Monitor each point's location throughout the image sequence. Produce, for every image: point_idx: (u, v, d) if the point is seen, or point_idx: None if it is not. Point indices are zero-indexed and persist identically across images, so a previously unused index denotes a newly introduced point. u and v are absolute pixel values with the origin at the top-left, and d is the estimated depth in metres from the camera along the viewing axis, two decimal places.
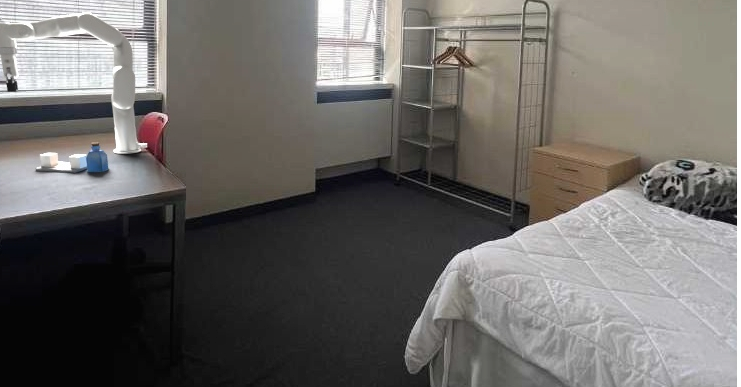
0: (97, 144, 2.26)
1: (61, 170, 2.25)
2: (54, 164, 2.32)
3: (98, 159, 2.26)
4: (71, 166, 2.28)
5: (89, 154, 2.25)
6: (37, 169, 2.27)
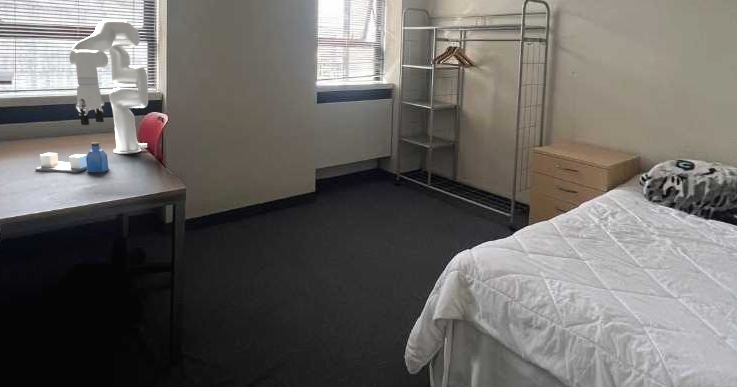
0: (97, 144, 2.26)
1: (61, 170, 2.25)
2: (54, 164, 2.32)
3: (98, 159, 2.26)
4: (71, 166, 2.28)
5: (89, 154, 2.25)
6: (37, 169, 2.27)
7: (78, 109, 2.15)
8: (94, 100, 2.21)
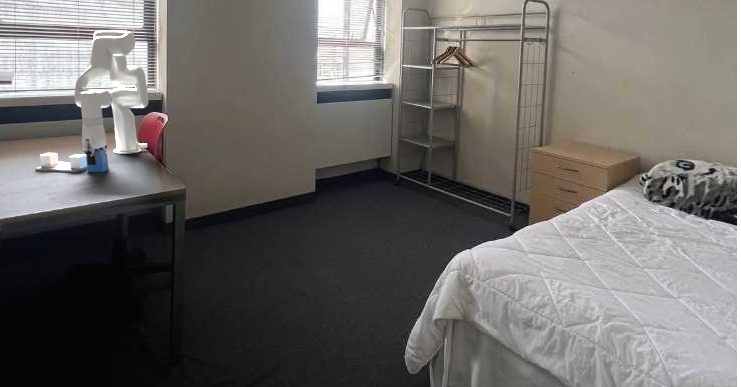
0: None
1: (61, 170, 2.25)
2: (54, 164, 2.32)
3: (98, 159, 2.26)
4: (71, 166, 2.28)
5: None
6: (37, 169, 2.27)
7: (85, 151, 2.21)
8: (99, 139, 2.25)
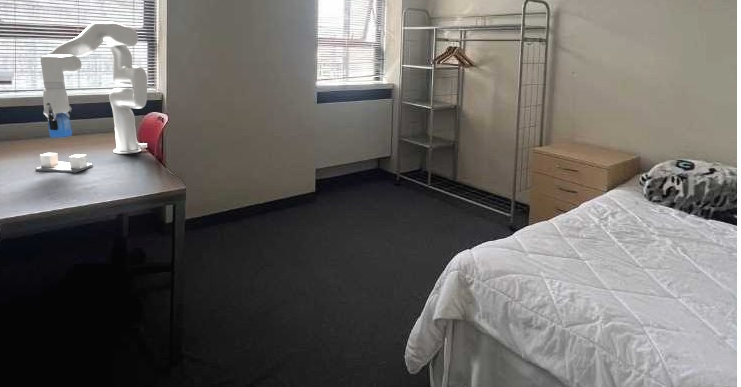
0: None
1: (61, 170, 2.25)
2: (54, 164, 2.32)
3: (60, 123, 2.24)
4: (71, 166, 2.28)
5: None
6: (37, 169, 2.27)
7: (46, 115, 2.19)
8: (61, 104, 2.23)
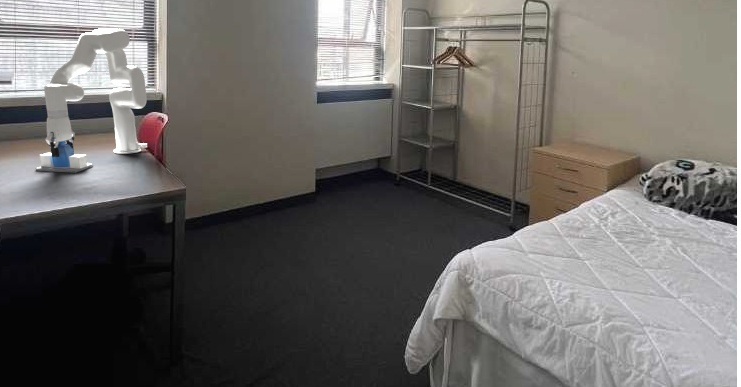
0: None
1: (61, 170, 2.25)
2: None
3: (63, 154, 2.27)
4: (71, 166, 2.28)
5: None
6: (37, 169, 2.27)
7: (48, 142, 2.21)
8: (64, 132, 2.26)
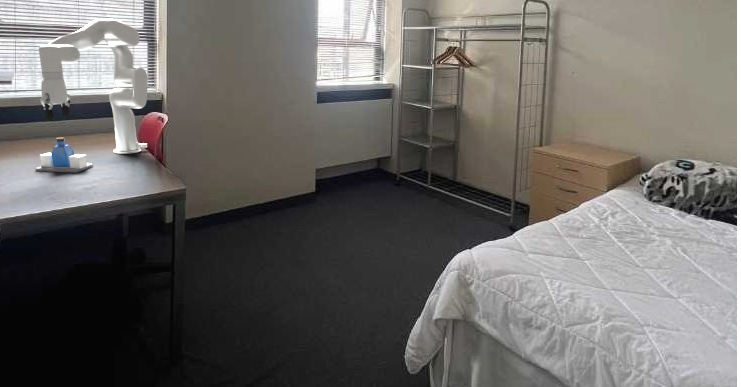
0: (62, 139, 2.27)
1: (61, 170, 2.25)
2: None
3: (63, 154, 2.27)
4: (71, 166, 2.28)
5: (54, 149, 2.27)
6: (37, 169, 2.27)
7: (42, 103, 2.16)
8: (59, 94, 2.22)
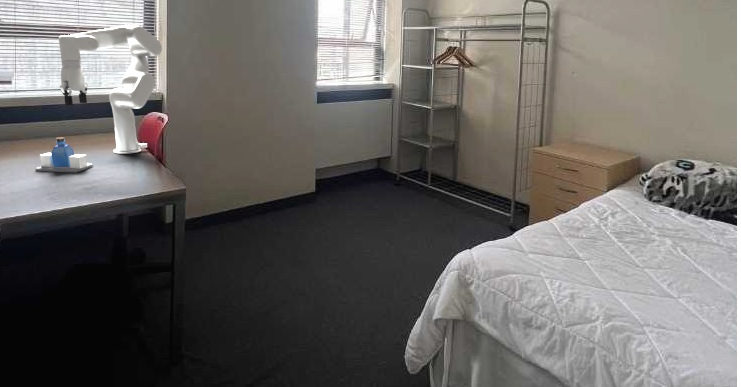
0: (62, 139, 2.27)
1: (61, 170, 2.25)
2: None
3: (63, 154, 2.27)
4: (71, 166, 2.28)
5: (54, 149, 2.27)
6: (37, 169, 2.27)
7: (62, 90, 2.30)
8: (77, 82, 2.35)
